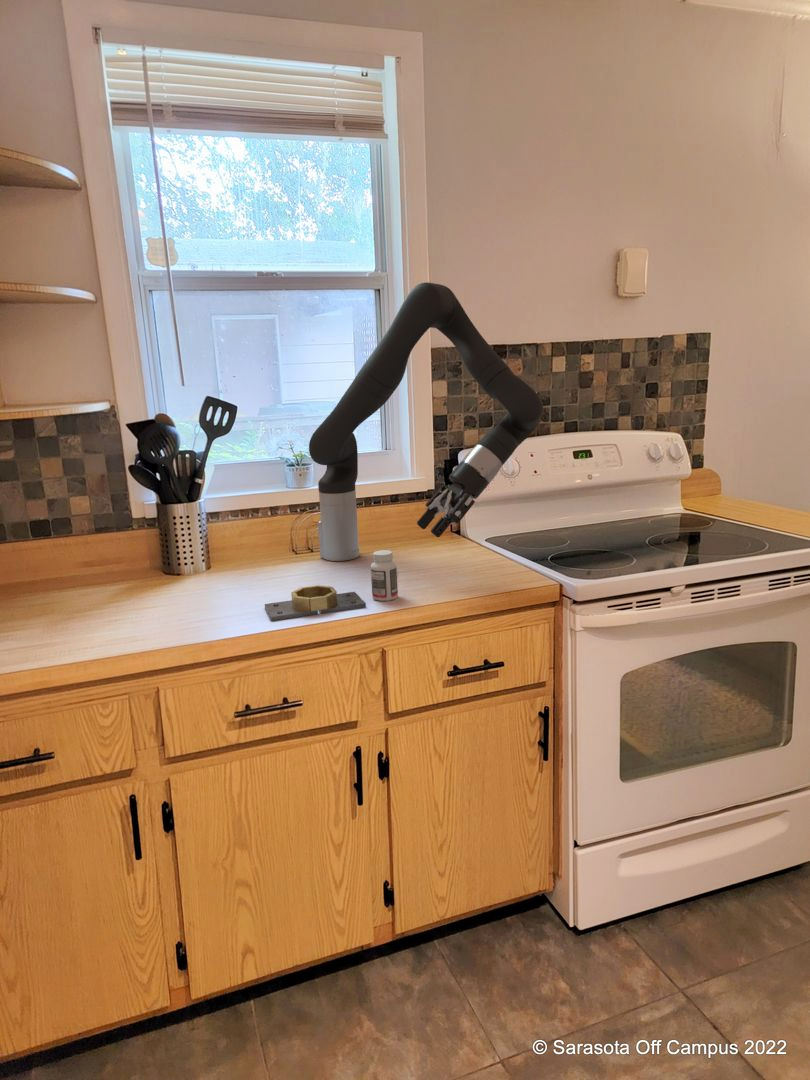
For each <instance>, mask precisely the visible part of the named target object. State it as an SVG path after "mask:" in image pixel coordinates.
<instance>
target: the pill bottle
mask: <svg viewBox="0 0 810 1080" xmlns="http://www.w3.org/2000/svg"><path fill="white" fill-rule="evenodd" d="M393 556H394V555H393V551H392V550H389V549H387V550H386V549H384V550H376V551H374V552H373V553H372V559H373V561H374V562H372V563H371V564H370V576H371V577H370V579H371V580H370V581H371V594H372V599H373V600H375V601H378V602H389V601H393V600H395V599H397V598H398V596H399V592H398V591H399V589H398V572H397V571H398V570H397V569H398V568H397V563H396V562H395V561H393V558H394V557H393Z"/></svg>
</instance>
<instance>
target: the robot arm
mask: <svg viewBox="0 0 810 1080" xmlns="http://www.w3.org/2000/svg"><path fill="white" fill-rule="evenodd" d="M430 328H432V329H436V330H438V331H439V332H440V333H442V335H444V336H445V337H446V338H447V339H448V340H449V341H450V342H451V343H452V344H453V345H454V347H455V348H456V350H457V352H458V353H459V355H460V357H461V359H462V361H463V363H464V365H465V367H466V369H467V371H468V373H469V374H470V376H471V377H472V378H473V379H474V380H475V382H476V383H477V384H478V385H479V386H480V387H481V389H482V390H483V391H484V393H486V394H487V395H488V396H489V397H490V398H491V399H493V400H498V402H499V403H500V404H501V405H502V406H503V408H505V409H506V410H507V413H505V415H504V417H502V419H501V420H500V421H499V422H498V424H496V426H493V427H492V428H490V429H489V430H488V431H487V432H486V433H485V434H484V435H483V437H481V438H480V440H479V441H478V443H477V444H476V445H475V446H474V447H473V448H472V449H471V450H470V451H469V452H468V453H467V454H466V455H465V456H464V457H463V459H462V460H461V461H460V463H458V465H457V466H456V467H455V468H454V469H453V471H452V472H451V473H450V474H449V477H448V479H449V481H450V482H451V485H449V486H448V487H447V486H446V485H444V484H442V485H441V486H440V487H439V488H438V489H437V490H436V492H434V494H433V495H432V496H431V498H429V499H428V501H427V502H426V503H425V507H426V510H425V511H424V513H423V514H422V515H421V516H420V518H419V519H418V520H417V522H416V525H417V526H419V528H421V529H422V530H426V529H427V527H428V526H429V525H430V524H431V523H432V521H433V520H434V519H435V517H436V516H438V515H440V514H441V513H443V515H442V516H441V517H440V518H439V519H438V521H437V522H436V523H435V525H434V526H433V527H432V528H431V529H430V533H432V535H433V536H435V537H436V538H440V537H441V536H442V535H443V533H445V532H446V530H447V529H448V527H450V525H453V524H456V525H457V524H459V523H460V522H461V520H462V519H463V518H464V517H465V515H466V514H467V513H468V512H469V510H470V509H471V508H472V506H473V505H475V503H476V501H475V500H477V499H478V498H479V497H480V495H482V493H483V492H484V491H485V489H486V488H487V487H488V486H489V485H490V483H491V482H492V481H493V480H494V479H495V477H496V476H497V475H498V474H499V472H500V470H501V468H502V467H503V466H504V465H505V463H506V462H507V460H509V458H510V457H511V456H512V455H513V454H514V453H515V451H516V449H517V448H518V447H519V446H520V445H521V444H522V443H523V442H525V440H526V439H527V438H528V437H529V436H530V435H531V434H532V433H533V432H534V431H535V430H536V428H537V427H538V426H539V424H540V423H541V419H542V417H543V412H544V404H543V401H542V399H541V396H539V395H538V393H537V392H536V391H535V390H534V389H533V388H532V387H531V386H530V385H529V384H527V383H526V382H525V381H524V380H522V379H521V378H520V377H518V376H517V375H516V374H515V373H514V372H513V371H512V369H511V368H510V367H509V366H508V365H507V363H506V362H505V361H504V360H503V358H501V357H500V355H498V354H497V352H496V351H495V350H494V349H493V348H492V347H491V345H490V344H489V343H488V342H487V341H486V340H485V338H484V336H482V334H481V333H480V332H479V330H478V329H477V328H476V326H475V325H474V323H473V322H472V321H471V318H470V317H469V316H468V314H467V312H466V311H465V309H464V308H463V305H461V302H460V301H459V300H458V297H457V296H456V295H455V293H454V292H453V290H451V289H450V288H449V287H448V286H446V285H443V284H440V283H433V282H428V281H427V282H421V283H418V284H417V285H415V286H413V288H412V289H410V291H409V292H408V294H407V295H406V297H405V299H404V300H403V301H402V304H401V306H400V307H399V310H398V312H396V315H395V317H394V319H393V321H392V322H391V324H390V326H389V328H388V330H386V332H385V334H383V336H382V338H381V339H380V341H379V342H378V344H377V345H376V347H375V349H374V350H373V351H372V352H371V354H370V356H369V357H368V359H366V361H365V362H364V363H363V365H362V367H361V368H360V369H359V371H358V372H357V374H356V375H355V377H354V379H353V380H352V382H351V383H350V385H349V386H348V388H347V389H346V390H345V392H344V393H343V395H342V397H341V398H340V399H339V401H338V403H337V404H336V405H335V407H334V408H333V410H332V411H331V412H330V413H329V415H328V416H327V417H326V418H325V419H324V420H323V421H322V423H321V424H320V425H319V426H318V427H317V428H316V430H314V432H313V433H312V435H311V436H310V440H309V443H308V444H309V445H308V452H309V455H310V458H311V460H312V461H313V462H315V463H316V464H318V465H322V466H326V470H325V473H324V474H323V475H322V477H321V478H320V479H319V480H318V484H317V487H318V498H319V500H318V501H319V511H320V513H319V514H320V520H318V521H317V531H318V532H317V533H318V534H317V535H318V543H319V544H318V545H319V558H320V559H324V560H327V561H331V562H343V561H344V562H345V561H351V560H354V559H357V558H358V557H360V545H359V529H358V528H359V526H358V525H359V524H358V510H357V507H358V506H357V493H356V482H357V479H358V477H359V476H358V474H359V470H358V469H359V464H358V461H359V460H358V457H359V455H358V454H359V453H358V443H357V439H356V435H355V433H354V432H355V431H356V429H357V428H358V427H359V426H360V425H362V423H363V422H365V421H366V420H368V418H369V417H371V416H372V415H373V414H375V413H376V412H377V411H378V410H380V408H382V407H383V406H384V405H385V404H386V403H387V402H388V400H389V399H390V398H391V396H392V395H393V394H394V392H395V391H396V389H397V388H398V387H399V386H400V384H401V382H402V380H403V378H404V375H405V373H406V370H407V366H408V361H409V357H410V355H411V353H412V351H413V349H414V347H415V346H416V345H417V344H418V342H419V341H420V340H421V338H422V337H423V336H424V334H425V333H426V332H428V330H429V329H430Z"/></svg>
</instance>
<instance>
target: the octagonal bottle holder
mask: <svg viewBox="0 0 810 1080" xmlns="http://www.w3.org/2000/svg"><path fill="white" fill-rule="evenodd" d="M362 608H367V604H366V602H365V601H364V600H363V599H362V598H361V597H360V596H359V594H358V593H357V592H356V591H348V592H342V593H337V590H336V589H335V587H333V586H329V585H328V586H327V585H322V584H321V585H320V584H319V585H318V584H317V585H310V586H303V587H300V588H297V589H295V590H293V591H291V600H285V601H284V600H283V601H277V602H271V603H264V609H265V611H266V612H267V615H268V617H269V619H270V622H274V620H275V621H281V620H280V619H282V620H288V618H289V619H294V618H295V617H296V618H302V616H303V617H308V616H315V615H319V613H320V614H323V615H324V614H328V613H329V614H330V613H335V612H342V611H343V612H344V611H350V610H356V609H357V610H358V609H362Z"/></svg>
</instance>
